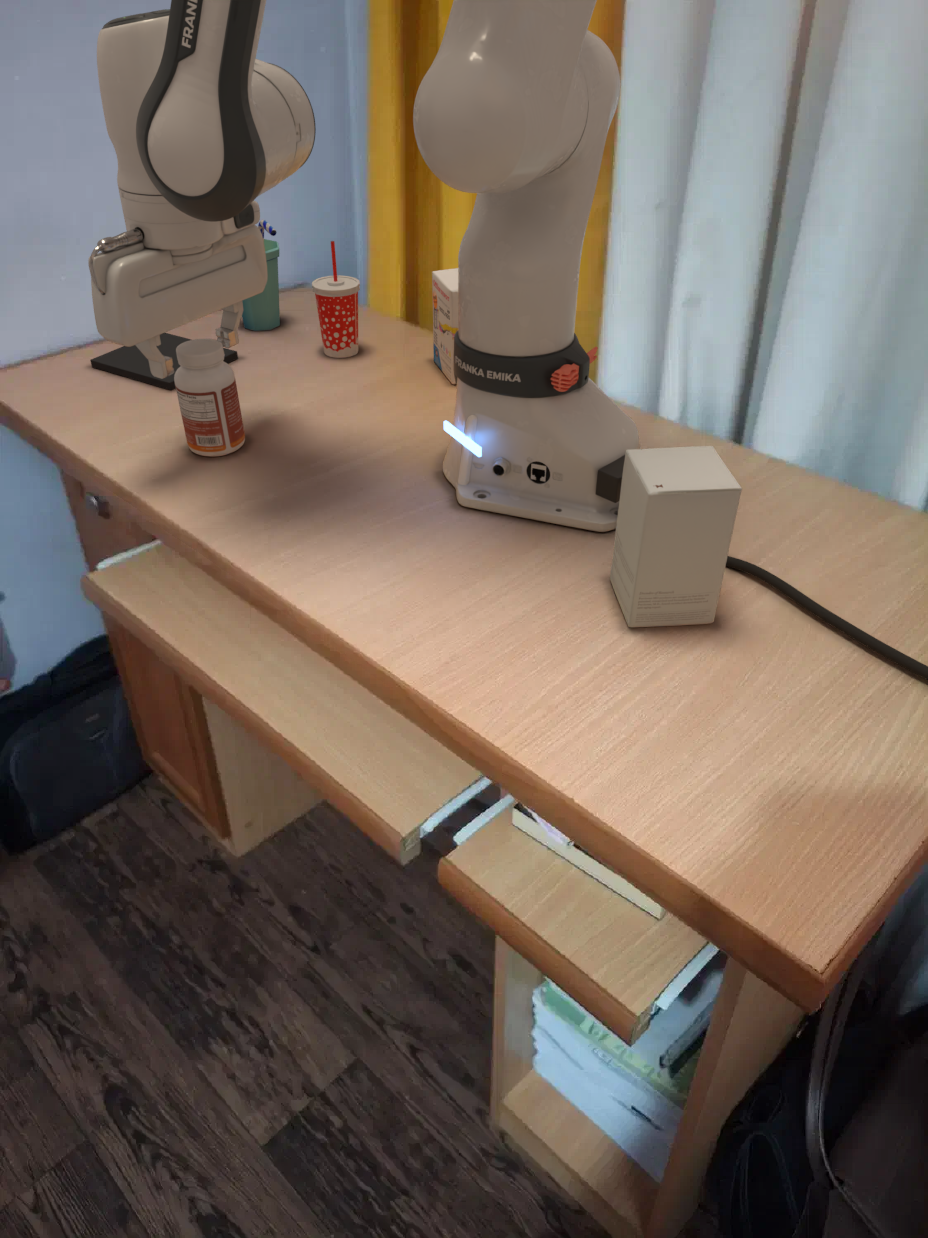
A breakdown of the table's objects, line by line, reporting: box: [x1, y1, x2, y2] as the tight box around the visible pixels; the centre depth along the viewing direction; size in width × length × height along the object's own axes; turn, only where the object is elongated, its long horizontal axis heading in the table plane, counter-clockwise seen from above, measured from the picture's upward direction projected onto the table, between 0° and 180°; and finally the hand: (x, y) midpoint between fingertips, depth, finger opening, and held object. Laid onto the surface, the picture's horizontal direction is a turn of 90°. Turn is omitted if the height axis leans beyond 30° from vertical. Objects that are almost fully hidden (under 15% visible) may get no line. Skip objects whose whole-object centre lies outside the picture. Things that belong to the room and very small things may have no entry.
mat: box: [89, 332, 239, 391], centre depth 118 cm, size 14×12×1 cm
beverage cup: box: [311, 240, 361, 359], centre depth 117 cm, size 6×6×14 cm
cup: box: [241, 219, 281, 332], centre depth 124 cm, size 14×8×15 cm, turn 35°
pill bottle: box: [174, 338, 246, 457], centre depth 96 cm, size 6×6×11 cm
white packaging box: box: [609, 445, 743, 628], centre depth 73 cm, size 7×7×13 cm
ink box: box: [431, 267, 458, 385], centre depth 113 cm, size 9×8×12 cm
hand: (197, 359), depth 94 cm, fingers open, 8 cm apart
